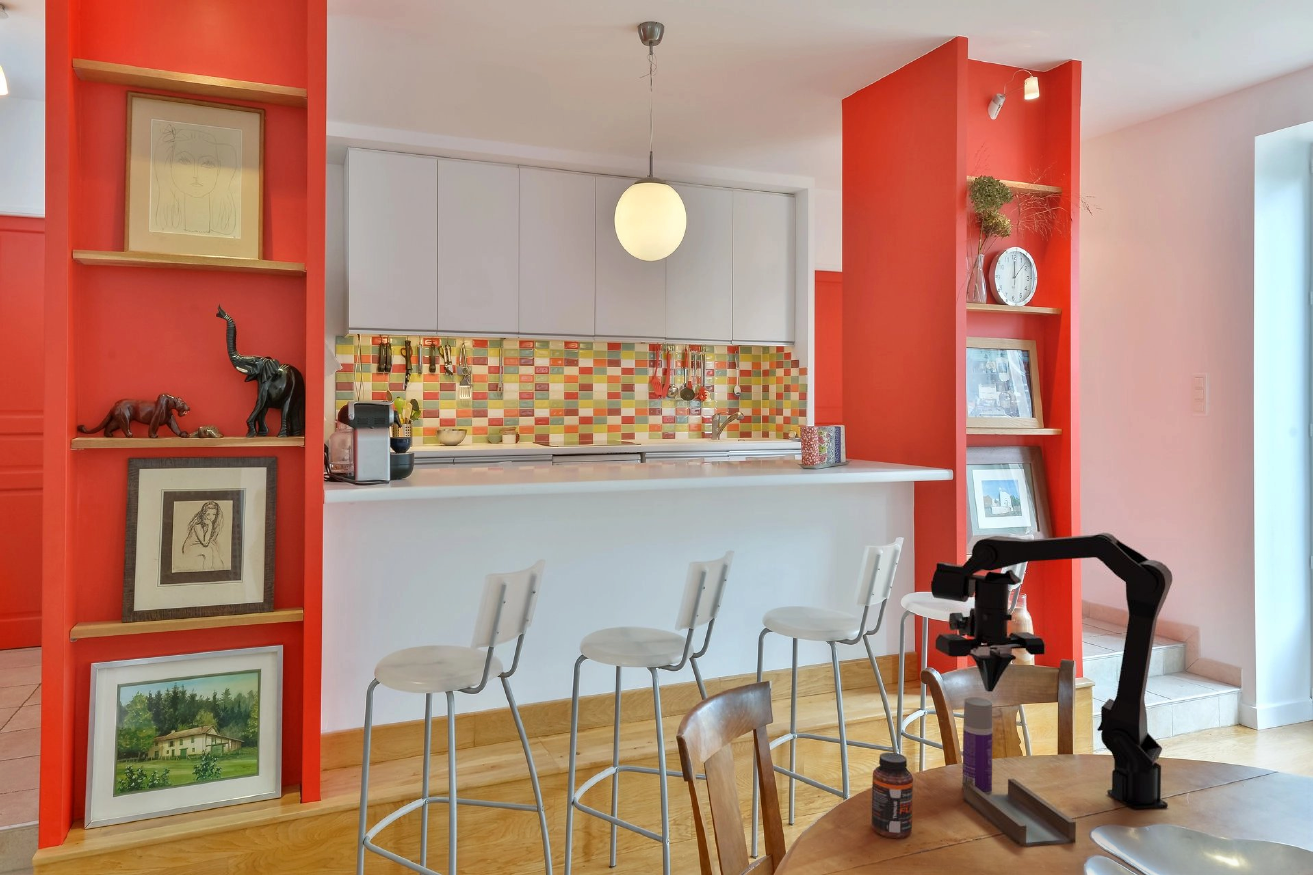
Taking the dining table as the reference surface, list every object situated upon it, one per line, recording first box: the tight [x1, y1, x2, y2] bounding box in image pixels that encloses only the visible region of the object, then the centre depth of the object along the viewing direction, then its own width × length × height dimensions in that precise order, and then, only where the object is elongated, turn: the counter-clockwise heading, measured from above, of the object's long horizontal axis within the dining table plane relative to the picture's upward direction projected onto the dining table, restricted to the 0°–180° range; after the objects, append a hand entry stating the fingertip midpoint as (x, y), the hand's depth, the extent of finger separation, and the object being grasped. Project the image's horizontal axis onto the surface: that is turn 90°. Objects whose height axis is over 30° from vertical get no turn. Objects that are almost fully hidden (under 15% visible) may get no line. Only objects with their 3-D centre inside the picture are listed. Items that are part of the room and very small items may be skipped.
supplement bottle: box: [871, 752, 914, 839], centre depth 131 cm, size 6×6×11 cm
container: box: [962, 697, 994, 795], centre depth 147 cm, size 5×5×15 cm
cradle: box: [962, 778, 1077, 847], centre depth 136 cm, size 9×16×3 cm, turn 10°
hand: (988, 691), depth 158 cm, fingers closed
